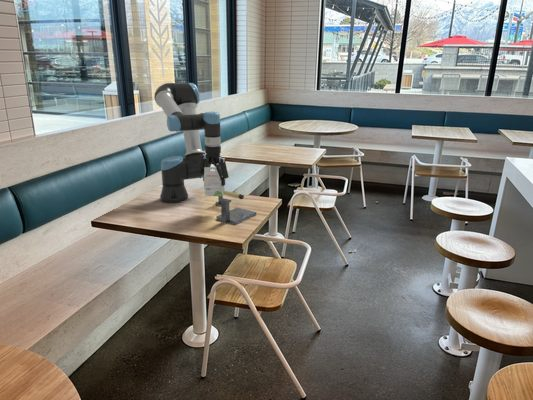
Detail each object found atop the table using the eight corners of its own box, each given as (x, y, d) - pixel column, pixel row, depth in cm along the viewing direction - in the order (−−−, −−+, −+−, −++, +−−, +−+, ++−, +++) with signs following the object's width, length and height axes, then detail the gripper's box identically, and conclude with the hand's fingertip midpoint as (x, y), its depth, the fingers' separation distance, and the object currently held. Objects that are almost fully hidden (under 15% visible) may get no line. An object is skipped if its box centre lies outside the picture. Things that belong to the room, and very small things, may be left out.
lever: (215, 194, 213) (215, 189, 212) (220, 193, 216) (220, 188, 215) (241, 200, 204) (241, 195, 203) (245, 198, 207) (245, 193, 206)
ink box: (223, 193, 203) (223, 165, 198) (221, 196, 198) (221, 167, 194) (206, 192, 204) (205, 164, 199) (204, 196, 199) (203, 167, 194)
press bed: (214, 220, 193) (213, 198, 189) (237, 210, 207) (237, 189, 203) (233, 225, 186) (232, 203, 183) (256, 214, 200) (256, 193, 197)
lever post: (212, 204, 215) (212, 194, 213) (220, 201, 219) (220, 192, 218) (221, 207, 211) (221, 196, 210) (228, 204, 216) (228, 194, 214)
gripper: (190, 143, 196) (192, 187, 203) (225, 149, 184) (226, 196, 191) (201, 141, 202) (203, 183, 209) (235, 146, 190) (236, 192, 197)
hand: (214, 189), depth 200 cm, fingers closed on ink box, 10 cm apart
